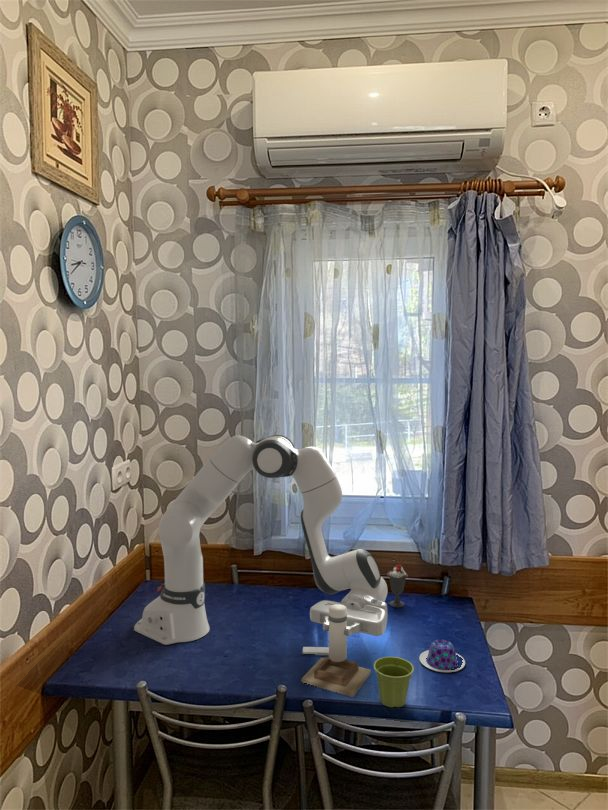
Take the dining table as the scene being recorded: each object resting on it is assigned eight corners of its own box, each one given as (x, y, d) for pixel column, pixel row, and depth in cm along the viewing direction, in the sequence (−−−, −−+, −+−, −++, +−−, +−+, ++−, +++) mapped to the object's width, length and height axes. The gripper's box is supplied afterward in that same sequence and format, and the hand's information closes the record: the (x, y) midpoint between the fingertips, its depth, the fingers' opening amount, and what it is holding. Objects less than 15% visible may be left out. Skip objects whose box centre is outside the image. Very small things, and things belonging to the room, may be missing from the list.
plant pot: (386, 685, 154) (387, 652, 154) (420, 699, 149) (420, 665, 148) (365, 702, 147) (365, 667, 146) (399, 717, 141) (400, 681, 140)
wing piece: (302, 656, 169) (302, 652, 169) (303, 650, 172) (303, 646, 172) (339, 657, 169) (339, 652, 169) (339, 651, 172) (339, 647, 172)
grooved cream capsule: (325, 659, 156) (325, 609, 155) (333, 651, 160) (332, 602, 159) (342, 663, 154) (342, 613, 153) (349, 654, 158) (349, 606, 157)
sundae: (397, 610, 197) (398, 565, 195) (382, 603, 202) (383, 559, 200) (411, 605, 201) (412, 560, 199) (396, 598, 206) (397, 554, 204)
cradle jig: (301, 682, 156) (301, 671, 155) (321, 660, 166) (321, 649, 166) (353, 697, 149) (353, 685, 149) (370, 673, 160) (370, 662, 160)
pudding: (425, 675, 159) (426, 656, 159) (414, 652, 171) (414, 634, 171) (471, 674, 160) (472, 654, 160) (457, 650, 172) (457, 632, 172)
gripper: (321, 590, 172) (299, 610, 160) (392, 604, 163) (374, 626, 151) (321, 612, 173) (299, 633, 160) (392, 627, 164) (374, 651, 151)
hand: (336, 630), depth 156 cm, fingers closed on grooved cream capsule, 4 cm apart
